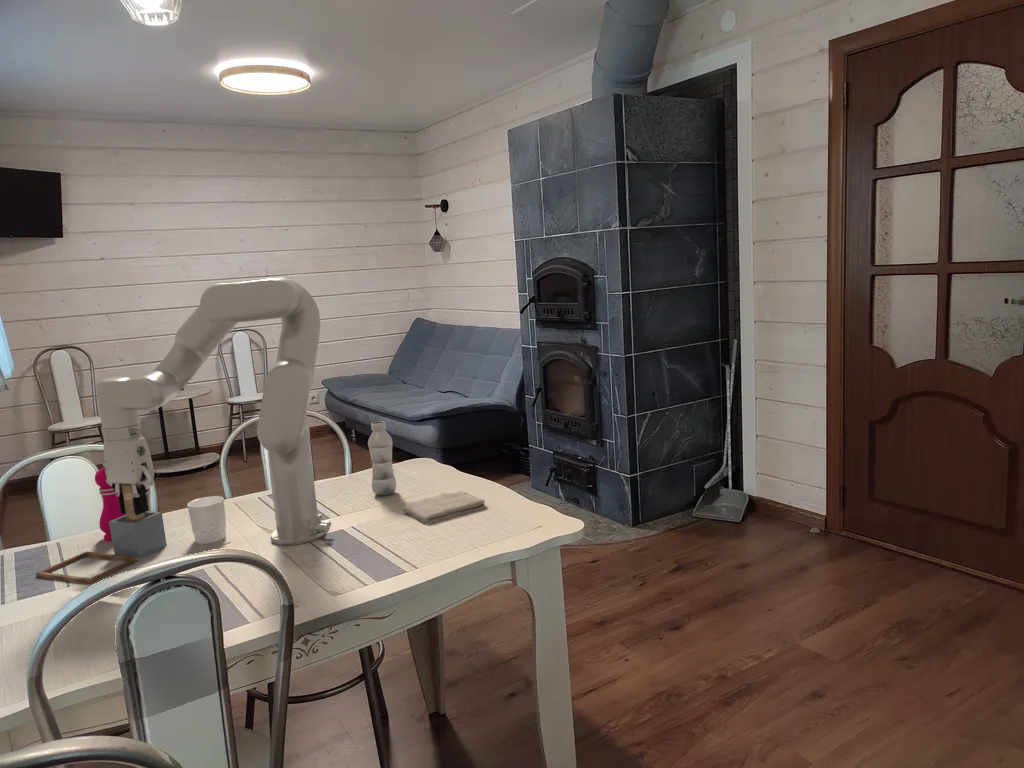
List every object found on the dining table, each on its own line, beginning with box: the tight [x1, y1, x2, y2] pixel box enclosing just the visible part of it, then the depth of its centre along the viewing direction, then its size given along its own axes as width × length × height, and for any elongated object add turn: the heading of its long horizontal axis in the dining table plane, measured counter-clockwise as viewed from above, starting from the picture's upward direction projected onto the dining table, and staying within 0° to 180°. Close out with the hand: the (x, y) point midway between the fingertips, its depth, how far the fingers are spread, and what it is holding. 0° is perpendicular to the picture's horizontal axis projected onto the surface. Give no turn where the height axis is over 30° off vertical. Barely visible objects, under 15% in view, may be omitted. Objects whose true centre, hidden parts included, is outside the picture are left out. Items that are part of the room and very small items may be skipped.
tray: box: [35, 551, 140, 585], centre depth 159 cm, size 16×12×2 cm
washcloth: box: [402, 490, 486, 525], centre depth 184 cm, size 12×18×3 cm, turn 125°
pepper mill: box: [94, 461, 126, 542], centre depth 177 cm, size 7×7×20 cm
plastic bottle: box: [367, 420, 397, 496], centre depth 200 cm, size 6×7×20 cm
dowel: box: [121, 484, 145, 522], centre depth 167 cm, size 4×4×16 cm
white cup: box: [186, 495, 227, 545], centre depth 173 cm, size 8×8×10 cm
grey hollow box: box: [109, 510, 168, 559], centre depth 168 cm, size 8×8×9 cm
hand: (134, 511), depth 167 cm, fingers closed on dowel, 3 cm apart
